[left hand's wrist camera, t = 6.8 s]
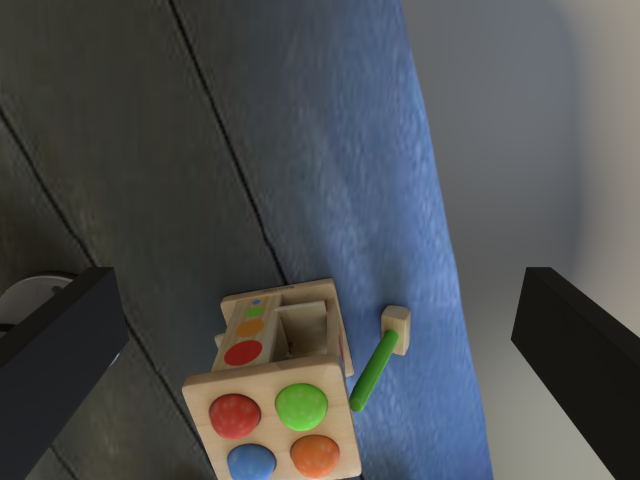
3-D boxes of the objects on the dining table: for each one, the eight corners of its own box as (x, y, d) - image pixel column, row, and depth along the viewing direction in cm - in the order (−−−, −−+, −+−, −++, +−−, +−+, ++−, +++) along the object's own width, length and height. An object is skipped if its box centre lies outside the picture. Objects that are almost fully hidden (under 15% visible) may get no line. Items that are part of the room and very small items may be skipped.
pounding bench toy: (402, 264, 48) (447, 361, 31) (415, 358, 53) (459, 484, 36) (220, 296, 49) (170, 404, 33) (250, 384, 54) (219, 516, 38)
